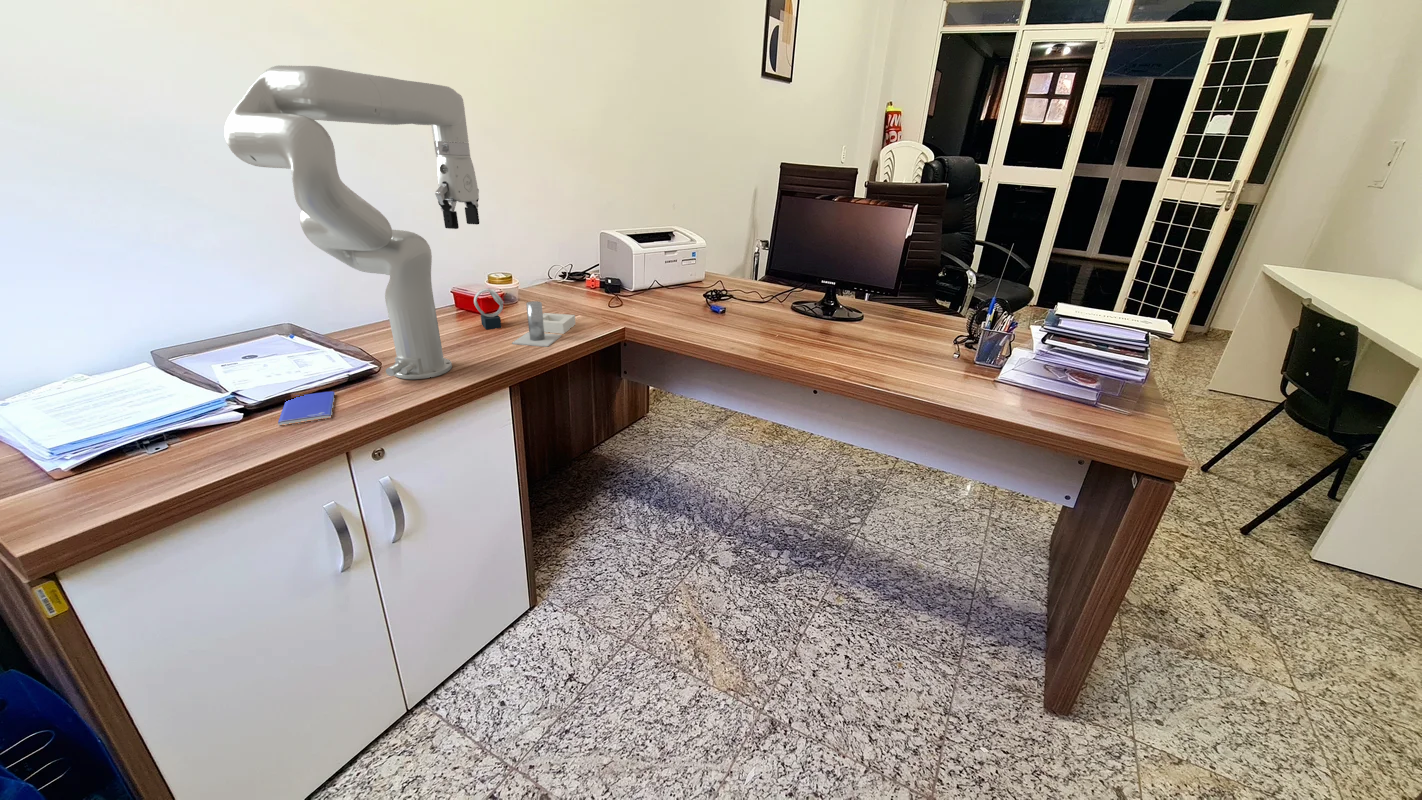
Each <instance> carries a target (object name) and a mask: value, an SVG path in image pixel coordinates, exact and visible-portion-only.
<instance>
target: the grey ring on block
mask: <svg viewBox="0 0 1422 800" xmlns="http://www.w3.org/2000/svg"><path fill="white" fill-rule="evenodd" d="M486 292H487V293H488V292H489V294H490V296H491V297H492V298H493V300H494V301H495V302H496V303H497V304H498V305H499V307H498V309H497V311H495V312H493V313H485V312H484V311H483V310H482V309H481V307H480V306H479V303H478V301H477V300H478V298H479V296H480V295H482V294H483V293H486ZM504 303H505V302H504V301H503V298H502V297H501V296H500V295H499V294H498V293H497V291H495V290H494V289H493V288H492V289H490V288H482V289H479V290H478V291H477V292H476V293H475V294H474V297H473V304H474V306H475V308H476V309H477V311H478V312H479V313H480V320H481V322H480V323H481V326H482V325H483V326H482V327H483V328H484V330H495V328H497V329H502V328H501V327H502V319H501V317H500V316H499V315H500V314H501V312H502V311H503V309H504Z"/></svg>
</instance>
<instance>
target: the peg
mask: <svg viewBox="0 0 1422 800" xmlns="http://www.w3.org/2000/svg"><path fill="white" fill-rule="evenodd" d="M543 313H544V311H543V303H542V302H541V301H532V300H531V301H528V302H526V314H527V323H528V332H529V335H530V340H533V341H540V340H544V339H545V334H544V333H545V332H544V323H543Z"/></svg>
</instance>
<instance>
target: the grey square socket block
mask: <svg viewBox="0 0 1422 800" xmlns="http://www.w3.org/2000/svg"><path fill="white" fill-rule="evenodd" d="M543 323H544V333H548V332H550V333H549V334H559V335H562V334H563V335H564V334H566V332H568V331H570V330H571V329H572V328H573V327H575V326H576V325H575V324H576V315H575V314H567V313H566V314H565V313H554V312H553V313H552V312H551V313H550V312H543ZM574 325H575V326H574ZM571 327H572V328H571ZM570 328H571V329H570Z"/></svg>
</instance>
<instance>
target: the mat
mask: <svg viewBox="0 0 1422 800" xmlns="http://www.w3.org/2000/svg"><path fill="white" fill-rule="evenodd" d="M544 334H545V339H544V340H540V341H533V340H530V335H529V331H528V332H526V333H524V334H523V335H522V336H519V337H518V338H517V339H515V340H513V341H512V343H511V344H512V345H518V346H519V345H520V346H533V347H545V348H548V347H550V346H551V345H552V344H553V343H554V342H556V341H557V340H559V339H560V338H561V337H562V334H560V333H547V332H544Z"/></svg>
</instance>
